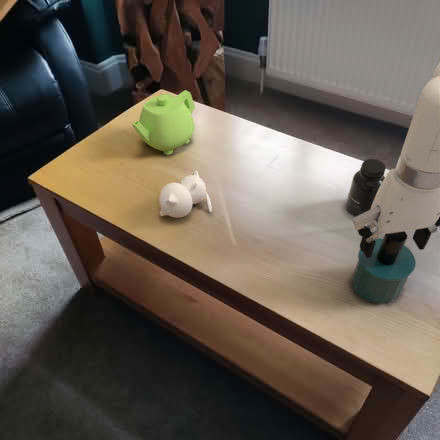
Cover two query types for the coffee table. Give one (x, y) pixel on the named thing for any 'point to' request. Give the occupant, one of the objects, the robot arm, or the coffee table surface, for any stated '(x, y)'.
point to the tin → (375, 287)
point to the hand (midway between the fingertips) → (391, 248)
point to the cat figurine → (183, 196)
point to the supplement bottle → (365, 186)
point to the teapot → (166, 121)
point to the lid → (389, 258)
